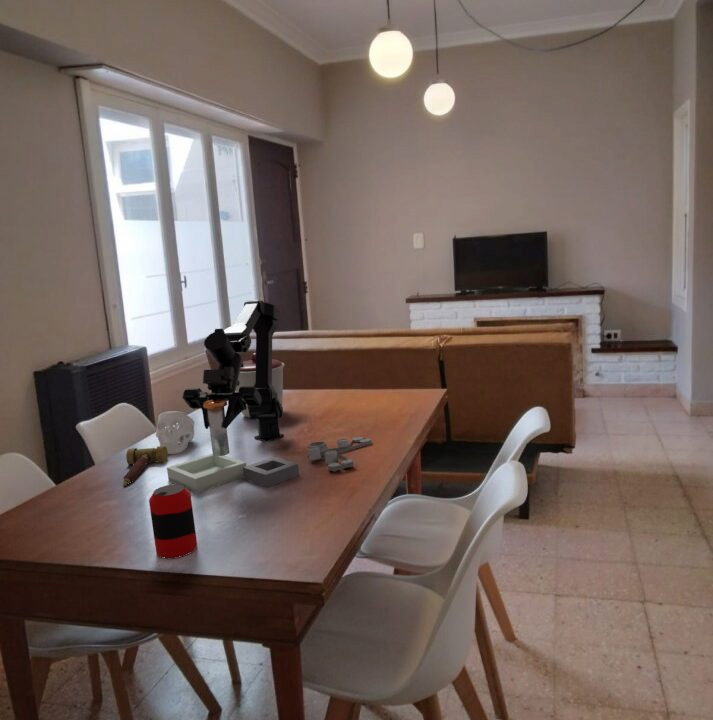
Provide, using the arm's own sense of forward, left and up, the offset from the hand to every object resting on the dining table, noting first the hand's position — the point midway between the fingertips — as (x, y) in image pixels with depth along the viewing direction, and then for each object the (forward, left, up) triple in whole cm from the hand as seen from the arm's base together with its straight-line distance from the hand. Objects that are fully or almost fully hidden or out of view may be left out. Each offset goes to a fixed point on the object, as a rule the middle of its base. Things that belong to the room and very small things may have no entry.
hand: (215, 427), depth 163 cm
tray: (-5, -1, -13) cm, 14 cm away
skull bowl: (-38, +8, -14) cm, 41 cm away
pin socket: (+8, +9, -13) cm, 18 cm away
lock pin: (-1, +1, -7) cm, 7 cm away
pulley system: (+8, +29, -14) cm, 34 cm away
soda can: (+26, -26, -14) cm, 39 cm away
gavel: (-25, -10, -14) cm, 30 cm away
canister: (-46, +44, -14) cm, 65 cm away
